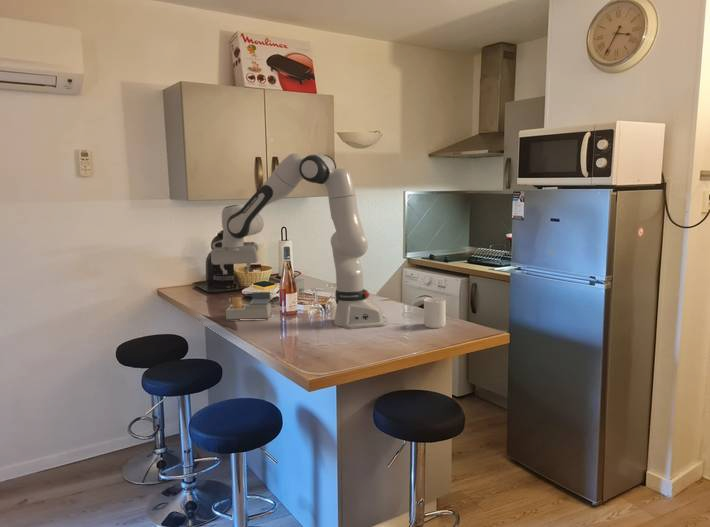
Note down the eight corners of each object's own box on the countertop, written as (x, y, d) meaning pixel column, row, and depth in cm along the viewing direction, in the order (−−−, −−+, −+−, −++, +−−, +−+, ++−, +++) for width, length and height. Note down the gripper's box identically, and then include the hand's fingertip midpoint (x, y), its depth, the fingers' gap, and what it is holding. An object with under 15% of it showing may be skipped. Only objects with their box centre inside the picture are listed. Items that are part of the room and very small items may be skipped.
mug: (453, 323, 222) (453, 297, 220) (438, 329, 212) (438, 303, 211) (435, 320, 227) (435, 295, 225) (419, 326, 218) (419, 300, 216)
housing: (271, 314, 246) (270, 300, 245) (267, 320, 235) (267, 305, 234) (231, 315, 246) (230, 301, 245) (226, 321, 235) (225, 306, 234)
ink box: (281, 304, 265) (280, 281, 263) (290, 301, 273) (288, 278, 271) (297, 305, 262) (296, 281, 260) (305, 302, 270) (304, 278, 268)
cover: (270, 300, 251) (269, 291, 250) (267, 304, 241) (266, 296, 241) (253, 300, 251) (252, 292, 250) (249, 305, 241) (248, 296, 241)
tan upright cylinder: (243, 314, 242) (242, 297, 241) (241, 316, 238) (240, 298, 237) (234, 314, 242) (233, 297, 241) (232, 316, 238) (231, 299, 237)
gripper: (258, 240, 239) (260, 271, 241) (212, 242, 239) (214, 273, 241) (256, 242, 233) (258, 274, 235) (208, 244, 232) (211, 276, 235)
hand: (236, 273), depth 238 cm, fingers open, 8 cm apart
